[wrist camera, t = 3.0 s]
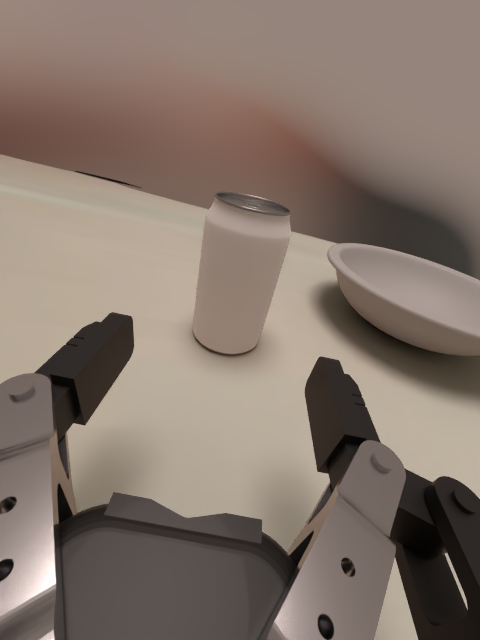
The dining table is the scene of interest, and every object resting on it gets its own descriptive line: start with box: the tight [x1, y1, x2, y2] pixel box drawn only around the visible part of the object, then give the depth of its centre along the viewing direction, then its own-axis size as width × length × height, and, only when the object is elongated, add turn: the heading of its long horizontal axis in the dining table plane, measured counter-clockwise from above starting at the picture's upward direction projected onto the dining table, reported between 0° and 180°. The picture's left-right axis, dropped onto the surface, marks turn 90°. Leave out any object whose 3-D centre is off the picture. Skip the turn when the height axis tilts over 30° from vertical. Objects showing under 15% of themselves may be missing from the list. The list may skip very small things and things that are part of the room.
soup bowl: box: [327, 243, 480, 356], centre depth 32 cm, size 24×24×7 cm
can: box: [193, 191, 292, 355], centre depth 21 cm, size 6×6×12 cm
